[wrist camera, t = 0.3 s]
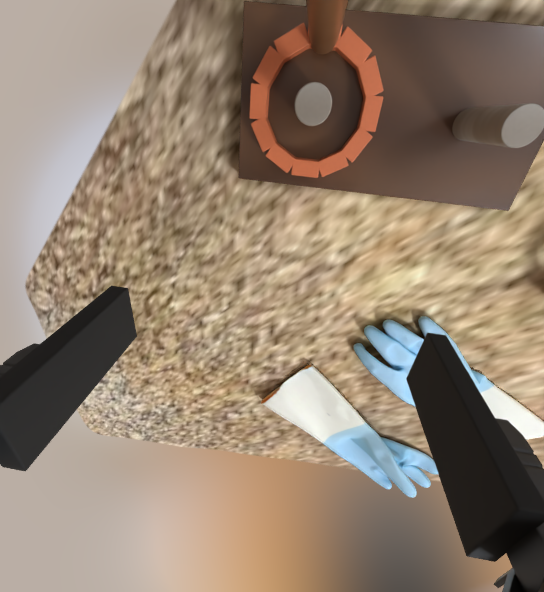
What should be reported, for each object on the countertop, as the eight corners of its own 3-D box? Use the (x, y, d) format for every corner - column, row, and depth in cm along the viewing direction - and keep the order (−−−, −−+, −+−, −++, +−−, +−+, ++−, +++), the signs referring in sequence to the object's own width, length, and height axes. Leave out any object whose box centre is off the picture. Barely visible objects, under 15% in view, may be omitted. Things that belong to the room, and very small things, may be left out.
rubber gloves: (405, 290, 35) (421, 321, 30) (551, 427, 43) (586, 472, 38) (260, 397, 48) (253, 433, 42) (395, 487, 56) (403, 528, 50)
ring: (257, 14, 23) (199, -88, 12) (397, 26, 23) (480, -70, 11) (249, 167, 29) (206, 199, 18) (361, 180, 28) (391, 222, 17)
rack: (247, 6, 24) (213, -50, 16) (583, 35, 23) (731, -12, 15) (241, 175, 31) (215, 195, 23) (500, 206, 29) (570, 240, 21)
